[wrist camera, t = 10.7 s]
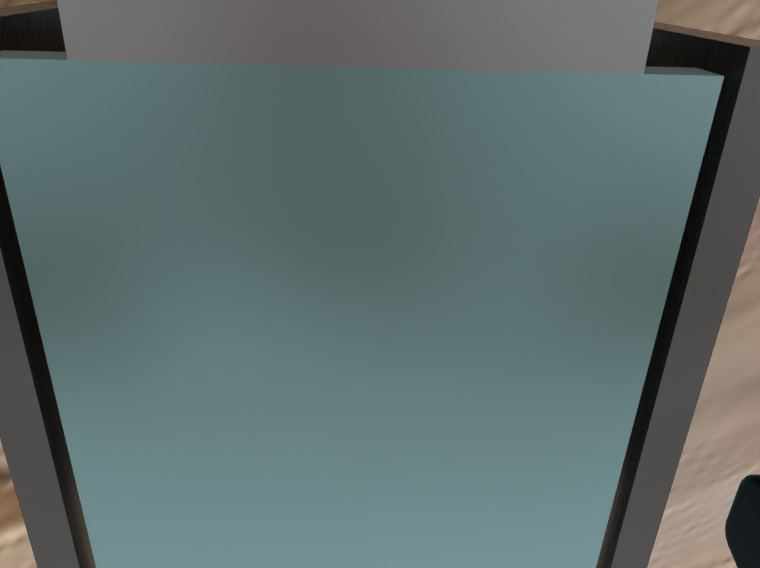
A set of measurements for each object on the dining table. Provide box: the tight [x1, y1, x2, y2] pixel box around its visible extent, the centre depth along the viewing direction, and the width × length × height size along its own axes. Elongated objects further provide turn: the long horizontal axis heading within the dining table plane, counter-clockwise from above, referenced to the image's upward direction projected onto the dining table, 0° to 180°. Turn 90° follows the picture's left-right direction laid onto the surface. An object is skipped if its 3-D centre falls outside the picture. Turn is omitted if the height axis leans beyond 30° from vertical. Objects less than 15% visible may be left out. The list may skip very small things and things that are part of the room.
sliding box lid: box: [0, 0, 724, 568], centre depth 15 cm, size 13×18×2 cm
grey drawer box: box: [0, 2, 760, 568], centre depth 18 cm, size 16×17×7 cm
